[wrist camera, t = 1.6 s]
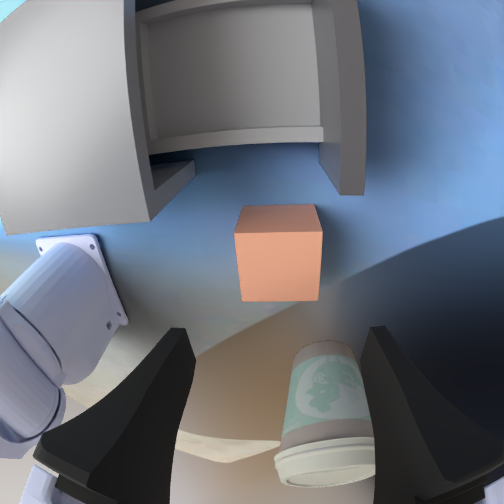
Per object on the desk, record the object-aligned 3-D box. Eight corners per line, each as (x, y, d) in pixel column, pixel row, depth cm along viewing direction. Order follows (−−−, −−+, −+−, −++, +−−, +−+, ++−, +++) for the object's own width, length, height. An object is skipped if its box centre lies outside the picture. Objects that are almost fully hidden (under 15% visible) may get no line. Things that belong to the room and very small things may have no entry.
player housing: (196, 175, 17) (150, 221, 11) (68, 193, 18) (6, 235, 12) (179, -13, 10) (127, -58, 4) (48, 42, 12) (-21, 43, 6)
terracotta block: (312, 263, 20) (317, 300, 16) (248, 264, 20) (242, 301, 17) (313, 203, 17) (322, 231, 14) (243, 205, 18) (233, 233, 14)
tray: (335, 163, 15) (363, 195, 10) (156, 173, 17) (108, 208, 11) (322, -21, 9) (341, -68, 4) (140, 3, 11) (87, -24, 6)
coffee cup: (383, 340, 23) (413, 458, 13) (336, 388, 27) (344, 488, 17) (303, 318, 22) (309, 461, 12) (264, 373, 26) (255, 485, 16)
